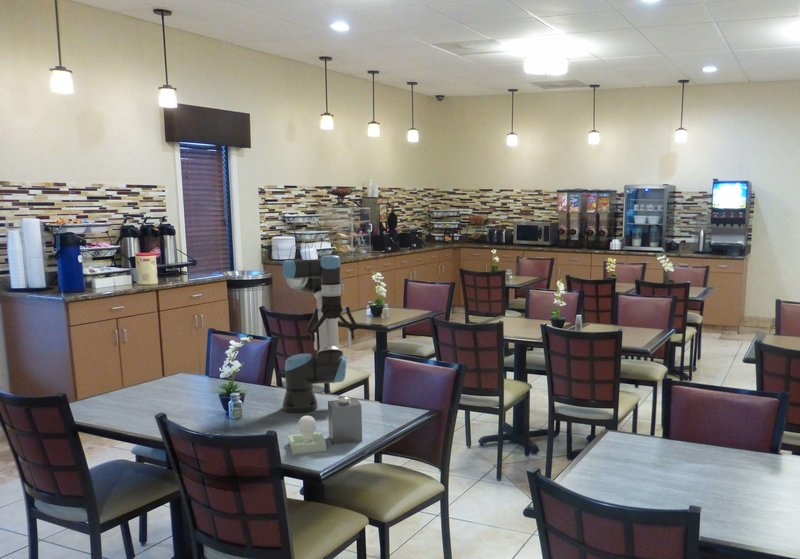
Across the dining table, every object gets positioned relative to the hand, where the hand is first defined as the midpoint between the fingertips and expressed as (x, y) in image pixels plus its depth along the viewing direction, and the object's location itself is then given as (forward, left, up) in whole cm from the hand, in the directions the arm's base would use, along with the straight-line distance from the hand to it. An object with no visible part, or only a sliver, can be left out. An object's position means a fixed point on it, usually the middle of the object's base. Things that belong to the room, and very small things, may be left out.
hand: (332, 348), depth 270 cm
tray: (+20, -14, -32) cm, 40 cm away
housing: (+16, +1, -32) cm, 36 cm away
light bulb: (+20, -14, -31) cm, 39 cm away
